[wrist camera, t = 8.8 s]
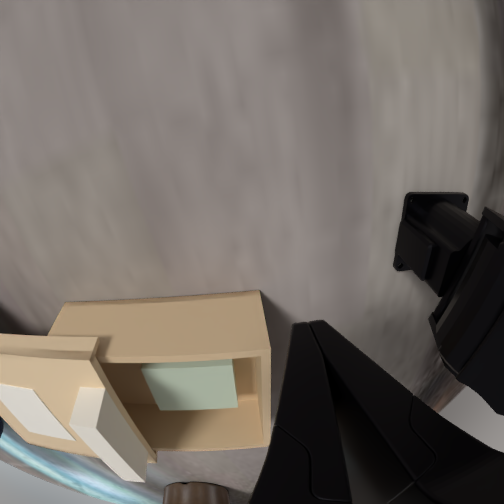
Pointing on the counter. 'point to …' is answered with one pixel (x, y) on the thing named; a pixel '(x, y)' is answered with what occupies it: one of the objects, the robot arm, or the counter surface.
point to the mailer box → (184, 366)
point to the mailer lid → (68, 402)
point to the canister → (1, 427)
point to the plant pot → (195, 494)
